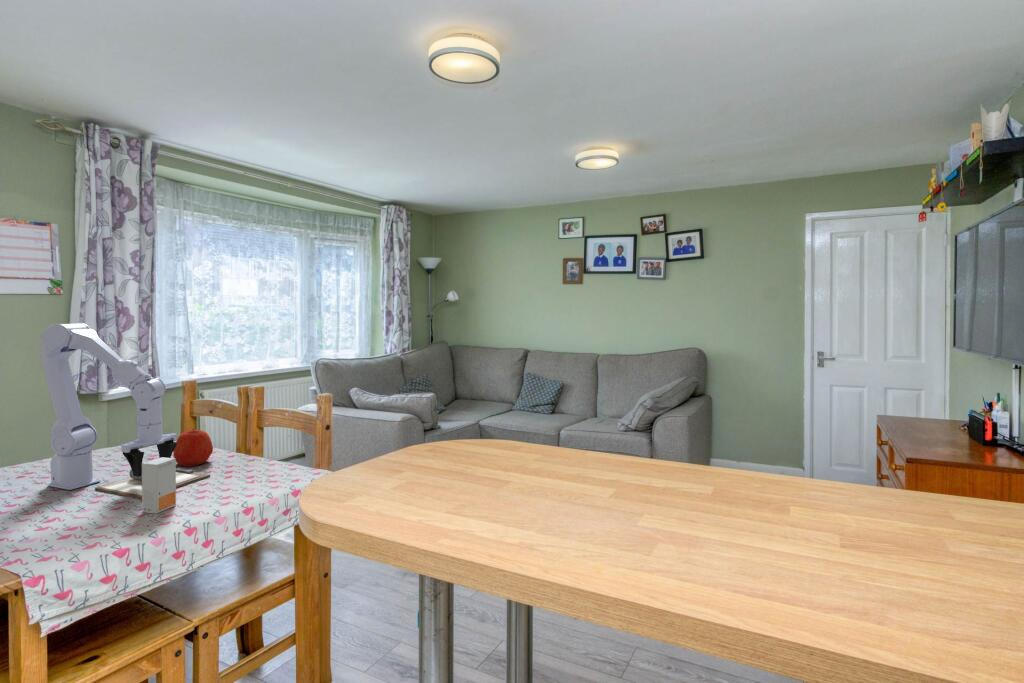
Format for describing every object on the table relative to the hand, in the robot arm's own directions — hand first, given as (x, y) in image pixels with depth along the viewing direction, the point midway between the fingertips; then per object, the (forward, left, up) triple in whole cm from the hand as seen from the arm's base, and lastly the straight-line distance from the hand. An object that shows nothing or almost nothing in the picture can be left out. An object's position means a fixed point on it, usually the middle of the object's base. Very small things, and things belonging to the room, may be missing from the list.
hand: (151, 471), depth 151 cm
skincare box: (+19, -12, -4) cm, 23 cm away
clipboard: (0, +1, -3) cm, 4 cm away
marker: (0, +1, -2) cm, 3 cm away
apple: (-7, +19, -4) cm, 21 cm away
